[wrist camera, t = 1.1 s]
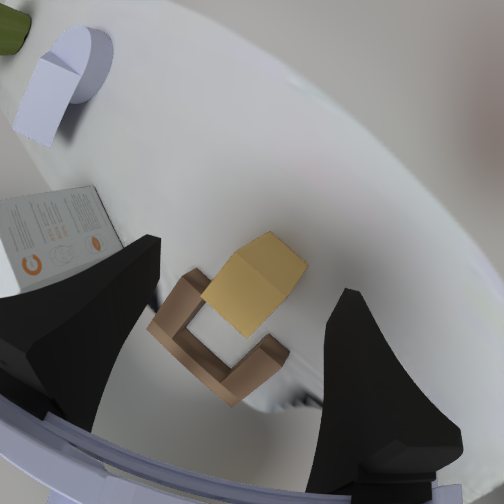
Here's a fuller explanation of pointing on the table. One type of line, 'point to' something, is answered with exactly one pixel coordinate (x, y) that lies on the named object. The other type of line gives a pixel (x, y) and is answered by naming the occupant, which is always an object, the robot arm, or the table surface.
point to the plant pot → (12, 29)
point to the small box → (52, 238)
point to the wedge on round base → (63, 81)
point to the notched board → (200, 357)
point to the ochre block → (254, 282)
